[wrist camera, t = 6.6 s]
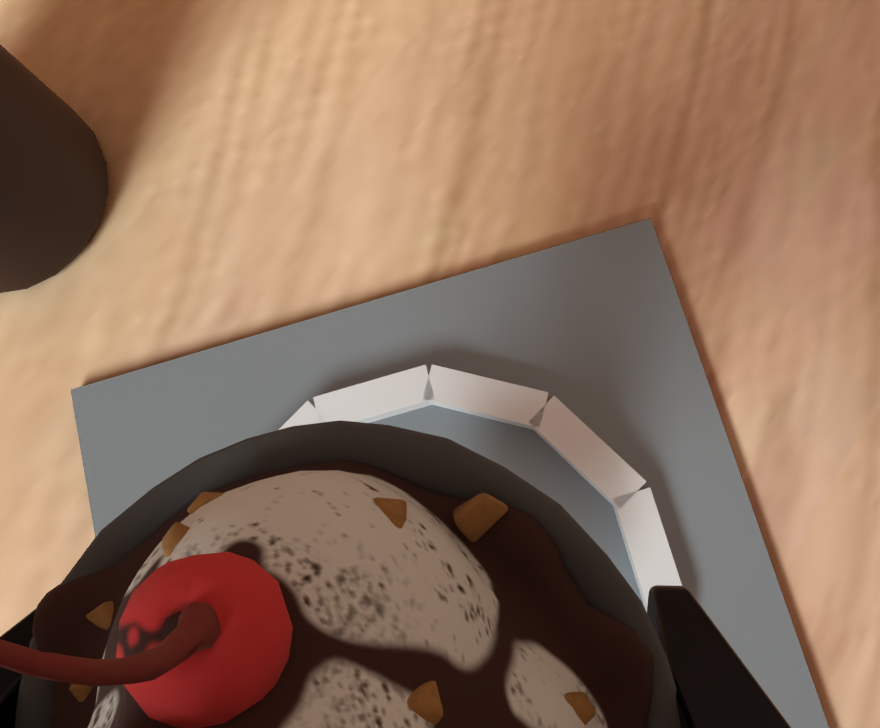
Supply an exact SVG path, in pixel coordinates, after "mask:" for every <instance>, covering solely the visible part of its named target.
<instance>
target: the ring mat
mask: <svg viewBox="0 0 880 728" xmlns="http://www.w3.org/2000/svg"><path fill="white" fill-rule="evenodd" d="M71 394H72V400H73V406H74V412H75V418H76V424H77V430H78V436H79V442H80V448H81V454H82V460H83V466H84V472H85V478H86V483H87V489H88V495H89V501H90V507H91V513H92V519H93V525H94V531H95V537H96V536H97V535H98V534H99V532H100V531H101V530H102V529H103V528H104V527H106V526H107V525H108V524H109V523H111V522H112V521H113V520H114V519H115V518H117V517H118V516H119V515H120V514H121V513H123V512H124V511H125V510H126V509H128V508H129V507H130V506H131V505H132V504H134V503H135V502H136V501H137V500H139V499H140V498H141V497H142V496H143V495H145V494H146V493H147V492H148V491H149V490H151V489H152V488H153V487H155V486H156V485H158V484H160V483H161V482H163V481H164V480H166V479H167V478H169V477H170V476H172V475H174V474H175V473H177V472H178V471H180V470H181V469H183V468H184V467H186V466H187V465H189V464H191V463H192V462H194V461H195V460H197V459H198V458H201V457H203V456H206V455H208V454H211V453H213V452H216V451H218V450H220V449H223V448H225V447H228V446H230V445H233V444H235V443H237V442H240V441H242V440H245V439H247V438H251V437H255V436H258V435H262V434H266V433H269V432H273V431H277V430H280V429H284V428H288V427H292V426H299V425H307V424H315V423H323V422H331V421H339V420H341V421H352V422H362V423H373V424H383V425H390V426H395V427H399V428H404V429H408V430H413V431H417V432H422V433H426V434H431V435H435V436H440V437H444V438H448V439H450V440H452V441H454V442H456V443H458V444H460V445H462V446H464V447H466V448H468V449H470V450H472V451H474V452H476V453H478V454H480V455H482V456H484V457H486V458H488V459H490V460H492V461H494V462H496V463H497V464H499V465H501V466H503V467H505V468H507V469H508V470H510V471H511V472H513V473H514V474H516V475H517V476H519V477H520V478H522V479H523V480H525V481H526V482H528V483H529V484H531V485H532V486H534V487H535V488H537V489H538V490H540V491H541V492H543V493H544V494H545V495H547V496H548V497H550V498H551V499H553V500H554V501H556V502H557V503H559V504H560V505H561V506H562V507H563V508H564V509H565V510H566V511H567V512H568V513H569V514H570V515H571V516H572V518H573V519H574V520H575V521H576V522H577V523H578V524H579V525H580V526H581V527H582V528H583V529H584V530H585V532H586V533H587V534H588V535H589V536H590V537H591V538H592V539H593V540H594V541H595V542H596V543H597V545H598V546H599V547H600V548H601V549H602V550H603V551H604V552H605V553H606V554H607V555H608V557H609V558H610V559H611V561H612V562H613V564H614V565H615V566H616V568H617V569H618V570H619V572H620V573H621V574H622V576H623V577H624V578H625V580H626V581H627V582H628V584H629V585H630V586H631V588H632V589H633V591H634V592H635V593H636V595H637V596H638V597H639V599H640V600H641V601H642V603H643V606H644V608H645V610H646V612H647V606H648V595H649V590H650V588H651V587H653V586H655V585H668V586H684V587H685V588H687V589H688V590H689V591H690V592H691V593H692V594H693V596H694V597H695V598H696V600H697V601H698V603H699V604H700V605H701V607H702V608H703V609H704V611H705V612H706V613H707V615H708V616H709V617H710V619H711V620H712V621H713V623H714V624H715V625H716V627H717V628H718V629H719V631H720V632H721V634H722V635H723V636H724V638H725V639H726V640H727V642H728V643H729V644H730V646H731V647H732V648H733V650H734V651H735V652H736V654H737V655H738V656H739V658H740V659H741V660H742V662H743V663H744V665H745V666H746V667H747V669H748V670H749V671H750V673H751V674H752V675H753V677H754V678H755V679H756V681H757V682H758V683H759V685H760V686H761V687H762V689H763V690H764V692H765V693H766V694H767V696H768V697H769V698H770V700H771V701H772V702H773V704H774V705H775V706H776V708H777V709H778V710H779V712H780V713H781V714H782V716H783V717H784V718H785V720H786V721H787V723H788V724H789V725H790V727H791V728H829V726H828V723H827V720H826V717H825V714H824V711H823V709H822V706H821V703H820V700H819V697H818V694H817V691H816V689H815V686H814V683H813V680H812V677H811V674H810V671H809V669H808V666H807V663H806V660H805V657H804V654H803V651H802V649H801V646H800V643H799V640H798V637H797V634H796V631H795V629H794V626H793V623H792V620H791V617H790V614H789V611H788V609H787V606H786V603H785V600H784V597H783V594H782V591H781V589H780V586H779V583H778V580H777V577H776V574H775V571H774V569H773V566H772V563H771V560H770V557H769V554H768V551H767V549H766V546H765V543H764V540H763V537H762V534H761V531H760V529H759V526H758V523H757V520H756V517H755V514H754V511H753V509H752V506H751V503H750V500H749V497H748V494H747V491H746V489H745V486H744V483H743V480H742V477H741V474H740V471H739V469H738V466H737V463H736V460H735V457H734V454H733V451H732V449H731V446H730V443H729V440H728V437H727V434H726V431H725V429H724V426H723V423H722V420H721V417H720V414H719V411H718V409H717V406H716V403H715V400H714V397H713V394H712V391H711V389H710V386H709V383H708V380H707V377H706V374H705V371H704V368H703V366H702V363H701V360H700V357H699V354H698V351H697V348H696V346H695V343H694V340H693V337H692V334H691V331H690V328H689V326H688V323H687V320H686V317H685V314H684V311H683V308H682V306H681V303H680V300H679V297H678V294H677V291H676V288H675V286H674V283H673V280H672V277H671V274H670V271H669V268H668V266H667V263H666V260H665V257H664V254H663V251H662V248H661V246H660V243H659V240H658V237H657V234H656V231H655V228H654V226H653V223H652V220H651V218H649V219H645V220H642V221H639V222H635V223H632V224H629V225H625V226H622V227H618V228H615V229H612V230H608V231H605V232H602V233H598V234H595V235H591V236H588V237H585V238H581V239H578V240H575V241H571V242H568V243H564V244H561V245H558V246H554V247H551V248H548V249H544V250H541V251H537V252H534V253H531V254H527V255H524V256H521V257H517V258H514V259H510V260H507V261H504V262H500V263H497V264H494V265H490V266H487V267H483V268H480V269H477V270H473V271H470V272H467V273H463V274H460V275H456V276H453V277H450V278H446V279H443V280H440V281H436V282H433V283H429V284H426V285H423V286H419V287H416V288H413V289H409V290H406V291H402V292H399V293H396V294H392V295H389V296H386V297H382V298H379V299H375V300H372V301H369V302H365V303H362V304H359V305H355V306H352V307H348V308H345V309H342V310H338V311H335V312H332V313H328V314H325V315H321V316H318V317H315V318H311V319H308V320H305V321H301V322H298V323H294V324H291V325H288V326H284V327H281V328H278V329H274V330H271V331H267V332H264V333H261V334H257V335H254V336H251V337H247V338H244V339H240V340H237V341H234V342H230V343H227V344H224V345H220V346H217V347H213V348H210V349H207V350H203V351H200V352H197V353H193V354H190V355H186V356H183V357H180V358H176V359H173V360H170V361H166V362H163V363H159V364H156V365H153V366H149V367H146V368H143V369H139V370H136V371H132V372H129V373H126V374H122V375H119V376H116V377H112V378H109V379H105V380H102V381H99V382H95V383H92V384H89V385H85V386H82V387H78V388H75V389H72V390H71Z"/></svg>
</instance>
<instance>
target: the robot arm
mask: <svg viewBox="0 0 880 728" xmlns="http://www.w3.org/2000/svg"><path fill="white" fill-rule="evenodd" d="M36 609H37V608H36ZM36 609H35V610H34V611H32V612H31V613H30V614H29V615H27V616H26V617H25V618H24V619H22V620H21V621H20V622H18V623H17V624H16V625H15V626H13V627H12V628H11V629H10V630H8V631H7V632H6V633H4V634H3V635H2V636H1V637H0V639H2V640H5V641H8V642H12V643H15V644H18V645H21V646H24V647H28V648H29V645H30V641H31V639H32V637H33V632H32V629H33V622H34V616H35V612H36ZM647 614H648V616H649V619H650V621H651V623H652V625H653V627H654V629H655V631H656V634H657V636H658V638H659V640H660V642H661V644H662V646H663V649H664V651H665V653H666V655H667V658H668V662H669V665H670V669H671V672H672V675H673V679H674V682H675V685H676V689H677V693H676V701H677V707H678V713H679V719H680V724H681V728H791V727H790V725H789V724H788V723H787V721H786V720H785V718H784V717H783V716H782V714H781V713H780V712H779V710H778V709H777V708H776V706H775V705H774V704H773V702H772V701H771V700H770V698H769V697H768V696H767V694H766V693H765V692H764V690H763V689H762V687H761V686H760V685H759V683H758V682H757V681H756V679H755V678H754V677H753V675H752V674H751V673H750V671H749V670H748V669H747V667H746V666H745V665H744V663H743V662H742V660H741V659H740V658H739V656H738V655H737V654H736V652H735V651H734V650H733V648H732V647H731V646H730V644H729V643H728V642H727V640H726V639H725V638H724V636H723V635H722V634H721V632H720V631H719V629H718V628H717V627H716V625H715V624H714V623H713V621H712V620H711V619H710V617H709V616H708V615H707V613H706V612H705V611H704V609H703V608H702V607H701V605H700V604H699V603H698V601H697V600H696V598H695V597H694V596H693V594H692V593H691V592H690V591H689V590H688V589H687V588H685V587H684V586H668V585H655V586H653V587H651V588H650V590H649V595H648V606H647ZM21 678H22V674H21V673H18V672H15V671H11V670H8V669H5V668H2V667H0V728H15V717H16V705H17V699H18V693H19V686H20V682H21Z"/></svg>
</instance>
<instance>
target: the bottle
mask: <svg viewBox="0 0 880 728" xmlns="http://www.w3.org/2000/svg"><path fill="white" fill-rule="evenodd" d="M106 196H107V171H106V161H105V159H104V156H103V154H102V151H101V149H100V146H99V144H98V141H97V139H96V136H95V134H94V132H93V131H92V130H91V129H90V128H89V127H88V125H87V124H86V123H85V122H84V121H83V120H82V119H81V118H80V117H79V116H78V114H77V113H76V112H75V111H74V110H73V109H72V108H70V107H69V106H68V105H67V104H66V103H65V102H64V101H63V100H61V99H60V98H59V97H58V96H57V95H56V94H55V93H54V92H53V91H51V90H50V89H49V88H48V87H47V86H46V85H45V84H44V83H43V82H41V81H40V80H39V79H38V78H37V77H36V76H35V75H34V74H33V73H31V72H30V71H29V70H28V69H27V68H26V67H25V66H24V65H22V64H21V63H20V62H19V61H18V60H17V59H16V58H15V57H14V56H12V55H11V54H10V53H9V52H8V51H7V50H6V49H5V48H4V47H2V46H1V45H0V293H2V292H9V291H15V290H21V289H27V288H29V287H31V286H33V285H35V284H37V283H39V282H41V281H43V280H46V279H48V278H50V277H52V276H54V275H56V274H57V273H58V272H59V271H60V270H62V269H63V268H64V267H65V266H66V265H67V264H68V263H69V262H70V261H72V260H73V259H74V258H75V257H76V256H77V255H78V254H79V253H80V252H81V251H82V250H83V248H84V247H85V245H86V243H87V242H88V240H89V239H90V237H91V235H92V234H93V232H94V231H95V229H96V227H97V226H98V224H99V221H100V218H101V214H102V210H103V207H104V203H105V200H106Z"/></svg>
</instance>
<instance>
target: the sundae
mask: <svg viewBox="0 0 880 728" xmlns="http://www.w3.org/2000/svg"><path fill="white" fill-rule="evenodd" d="M32 632H33V637H32V639H31V641H30V645H29V648H28V647H24V646H21V645H18V644H15V643H12V642H8V641H5V640H2V639H0V667H2V668H5V669H8V670H11V671H15V672H18V673H21V674H22V678H21V682H20V686H19V693H18V699H17V705H16V717H15V728H681V724H680V719H679V713H678V707H677V701H676V693H677V689H676V685H675V682H674V679H673V675H672V672H671V669H670V665H669V662H668V658H667V655H666V653H665V651H664V649H663V646H662V644H661V642H660V640H659V638H658V636H657V634H656V631H655V629H654V627H653V625H652V623H651V621H650V619H649V616H648V614H647V612H646V610H645V608H644V606H643V603H642V601H641V600H640V599H639V597H638V596H637V595H636V593H635V592H634V591H633V589H632V588H631V586H630V585H629V584H628V582H627V581H626V580H625V578H624V577H623V576H622V574H621V573H620V572H619V570H618V569H617V568H616V566H615V565H614V564H613V562H612V561H611V559H610V558H609V557H608V555H607V554H606V553H605V552H604V551H603V550H602V549H601V548H600V547H599V546H598V545H597V543H596V542H595V541H594V540H593V539H592V538H591V537H590V536H589V535H588V534H587V533H586V532H585V530H584V529H583V528H582V527H581V526H580V525H579V524H578V523H577V522H576V521H575V520H574V519H573V518H572V516H571V515H570V514H569V513H568V512H567V511H566V510H565V509H564V508H563V507H562V506H561V505H560V504H559V503H557V502H556V501H554V500H553V499H551V498H550V497H548V496H547V495H545V494H544V493H543V492H541V491H540V490H538V489H537V488H535V487H534V486H532V485H531V484H529V483H528V482H526V481H525V480H523V479H522V478H520V477H519V476H517V475H516V474H514V473H513V472H511V471H510V470H508V469H507V468H505V467H503V466H501V465H499V464H497V463H496V462H494V461H492V460H490V459H488V458H486V457H484V456H482V455H480V454H478V453H476V452H474V451H472V450H470V449H468V448H466V447H464V446H462V445H460V444H458V443H456V442H454V441H452V440H450V439H448V438H444V437H440V436H435V435H431V434H426V433H422V432H417V431H413V430H408V429H404V428H399V427H395V426H390V425H383V424H373V423H362V422H352V421H341V420H339V421H331V422H323V423H315V424H307V425H299V426H292V427H288V428H284V429H280V430H277V431H273V432H269V433H266V434H262V435H258V436H255V437H251V438H247V439H245V440H242V441H240V442H237V443H235V444H233V445H230V446H228V447H225V448H223V449H220V450H218V451H216V452H213V453H211V454H208V455H206V456H203V457H201V458H198V459H197V460H195V461H194V462H192V463H191V464H189V465H187V466H186V467H184V468H183V469H181V470H180V471H178V472H177V473H175V474H174V475H172V476H170V477H169V478H167V479H166V480H164V481H163V482H161V483H160V484H158V485H156V486H155V487H153V488H152V489H151V490H149V491H148V492H147V493H146V494H145V495H143V496H142V497H141V498H140V499H139V500H137V501H136V502H135V503H134V504H132V505H131V506H130V507H129V508H128V509H126V510H125V511H124V512H123V513H121V514H120V515H119V516H118V517H117V518H115V519H114V520H113V521H112V522H111V523H109V524H108V525H107V526H106V527H104V528H103V529H102V530H101V531H100V532H99V534H98V535H97V536H96V538H95V539H94V540H93V542H92V543H91V544H90V546H89V547H88V548H87V550H86V551H85V552H84V554H83V555H82V556H81V558H80V559H79V560H78V562H77V563H76V565H75V566H74V567H73V569H72V570H71V571H70V573H69V574H68V575H67V577H66V578H65V579H64V581H63V582H62V583H61V584H60V585H58V586H57V587H55V588H54V589H52V590H51V591H50V592H48V593H47V594H46V595H45V596H44V598H43V599H42V600H41V602H40V603H39V604H38V606H37V609H36V612H35V616H34V622H33V629H32Z"/></svg>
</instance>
